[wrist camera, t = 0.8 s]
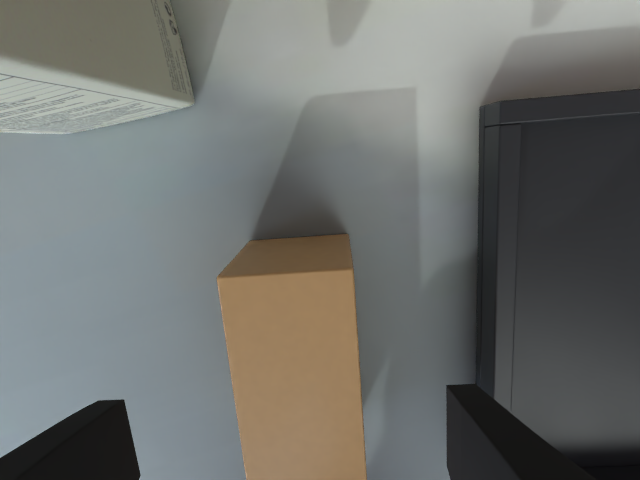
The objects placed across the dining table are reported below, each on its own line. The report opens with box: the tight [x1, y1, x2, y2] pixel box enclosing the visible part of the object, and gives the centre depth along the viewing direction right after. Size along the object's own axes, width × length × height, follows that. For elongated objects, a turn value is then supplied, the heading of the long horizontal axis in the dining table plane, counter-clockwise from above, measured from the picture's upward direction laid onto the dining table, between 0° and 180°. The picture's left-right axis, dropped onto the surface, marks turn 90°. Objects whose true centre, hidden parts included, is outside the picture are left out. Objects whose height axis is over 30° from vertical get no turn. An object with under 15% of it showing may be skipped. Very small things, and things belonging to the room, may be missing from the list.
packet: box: [217, 234, 367, 480], centre depth 16 cm, size 9×4×5 cm, turn 5°
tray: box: [476, 89, 640, 480], centre depth 16 cm, size 18×13×2 cm
